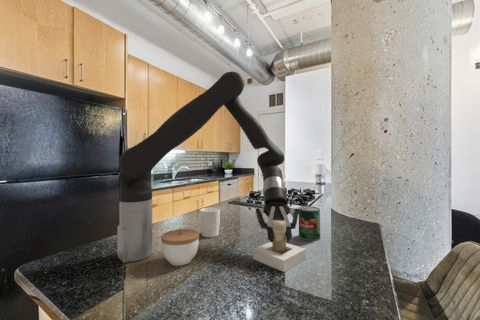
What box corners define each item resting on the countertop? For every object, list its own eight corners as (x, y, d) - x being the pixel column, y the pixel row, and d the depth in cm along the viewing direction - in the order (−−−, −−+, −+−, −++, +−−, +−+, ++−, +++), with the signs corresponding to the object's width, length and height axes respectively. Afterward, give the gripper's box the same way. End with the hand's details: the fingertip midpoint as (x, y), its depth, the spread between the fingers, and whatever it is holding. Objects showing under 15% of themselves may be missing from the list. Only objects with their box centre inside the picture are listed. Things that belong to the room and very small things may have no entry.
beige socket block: (284, 272, 58) (284, 260, 58) (253, 258, 66) (253, 248, 66) (306, 259, 66) (306, 248, 66) (276, 248, 74) (275, 239, 74)
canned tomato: (317, 234, 88) (317, 206, 88) (323, 241, 80) (322, 210, 80) (297, 233, 89) (296, 206, 89) (300, 240, 81) (300, 210, 81)
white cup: (219, 238, 84) (218, 211, 84) (198, 238, 84) (198, 211, 85) (221, 231, 92) (221, 207, 92) (202, 231, 92) (202, 207, 92)
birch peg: (280, 259, 63) (280, 224, 63) (269, 255, 66) (269, 221, 66) (288, 255, 66) (288, 221, 66) (277, 251, 69) (277, 219, 69)
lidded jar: (159, 272, 59) (159, 236, 59) (162, 255, 69) (162, 225, 69) (201, 266, 61) (200, 232, 61) (197, 251, 72) (197, 222, 72)
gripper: (253, 186, 74) (255, 235, 61) (297, 185, 73) (307, 235, 61) (253, 199, 79) (255, 246, 67) (293, 199, 78) (303, 247, 66)
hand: (280, 240), depth 64 cm, fingers open, 4 cm apart
